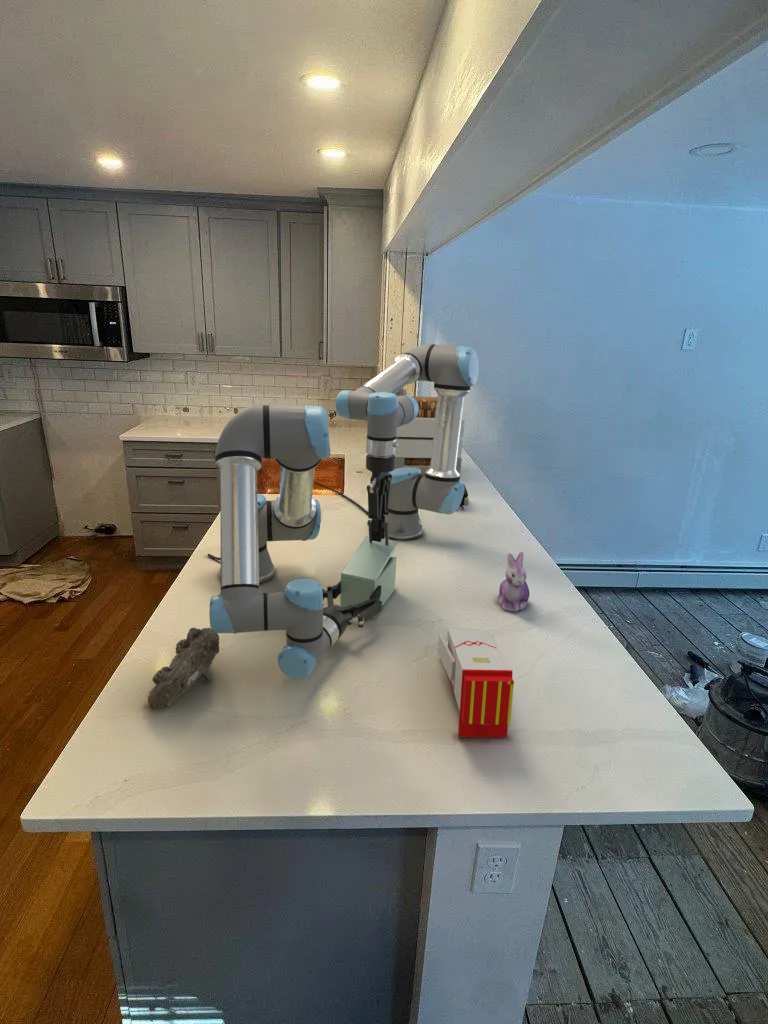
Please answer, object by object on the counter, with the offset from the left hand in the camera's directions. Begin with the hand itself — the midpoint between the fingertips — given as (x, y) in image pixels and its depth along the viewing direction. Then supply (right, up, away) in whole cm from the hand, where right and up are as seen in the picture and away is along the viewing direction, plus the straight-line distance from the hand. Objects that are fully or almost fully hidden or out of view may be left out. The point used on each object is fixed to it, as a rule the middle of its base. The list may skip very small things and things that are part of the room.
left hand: (361, 586), depth 147 cm
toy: (+24, -18, -28) cm, 41 cm away
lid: (+2, +7, +3) cm, 8 cm away
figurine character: (+36, +22, +85) cm, 94 cm away
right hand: (+4, +12, +7) cm, 14 cm away
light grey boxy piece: (+23, +38, +128) cm, 136 cm away
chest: (+2, -5, +7) cm, 9 cm away
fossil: (-35, -16, -28) cm, 47 cm away
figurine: (+41, -6, +8) cm, 42 cm away
